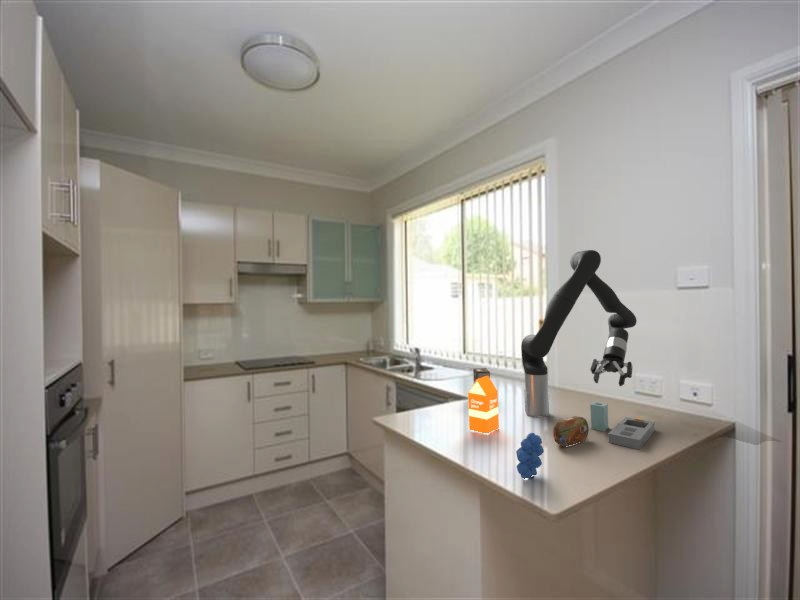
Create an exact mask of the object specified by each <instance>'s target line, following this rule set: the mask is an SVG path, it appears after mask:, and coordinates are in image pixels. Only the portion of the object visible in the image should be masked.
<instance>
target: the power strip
mask: <svg viewBox="0 0 800 600" xmlns="http://www.w3.org/2000/svg"><path fill="white" fill-rule="evenodd" d="M655 424H656V423H655V421H651V420H646V419H644V418H641V417H628V416H625V417H624V418H623V419H622V420H621V421H620V422H619V423H617V425H616V426H614V428H613V429H611V430H610V431H609V432H608V433H607V437H608V439H607V441H608V443H610V444H613V445H617V444H618V446H623V447H627V448H632V449H635V450H641V449H642V448H643V446H644V445H645V444H646V443H647V441H648V440H649V439H650V438H651V436H652V435H653V433H654V432H655V431H656V425H655Z"/></svg>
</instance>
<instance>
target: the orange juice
mask: <svg viewBox="0 0 800 600" xmlns="http://www.w3.org/2000/svg"><path fill="white" fill-rule="evenodd" d="M498 395H499V393H498V389H497V387H496V386H495V384H494V383H493V381H492V380H491V377H490V378H489V376H485V377H482V378H479V379H476V382H475V383H474V382H473V385H472V386H471V388H470V390H468V393H467V398H468V399H467V400H468V401H467V403H468V422H469V423H468V425H469V429H470V430H474V431H478V432H482V433H489V432H491V431H493V430H496V429H498V428H499V427H500V422H499V397H498ZM499 429H500V428H499ZM470 430H469V431H470Z"/></svg>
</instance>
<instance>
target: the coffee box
mask: <svg viewBox="0 0 800 600" xmlns="http://www.w3.org/2000/svg"><path fill="white" fill-rule="evenodd" d="M472 369H473V370H472V371H473V384H474V383H475V382H476V379H479V378H482V377H485V376H489V378H490V379H491V372H490V370H489V369H488V368H486V367H480V368H479V367H476V368H472Z"/></svg>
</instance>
